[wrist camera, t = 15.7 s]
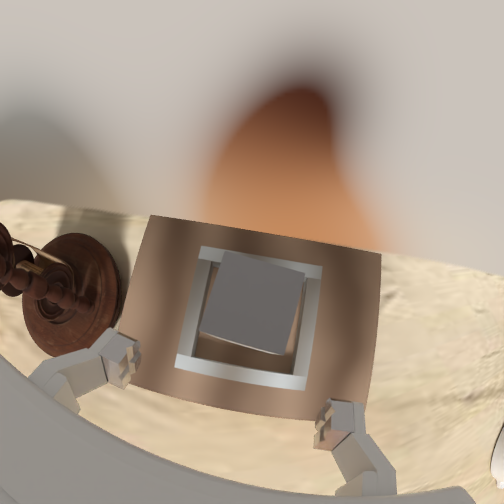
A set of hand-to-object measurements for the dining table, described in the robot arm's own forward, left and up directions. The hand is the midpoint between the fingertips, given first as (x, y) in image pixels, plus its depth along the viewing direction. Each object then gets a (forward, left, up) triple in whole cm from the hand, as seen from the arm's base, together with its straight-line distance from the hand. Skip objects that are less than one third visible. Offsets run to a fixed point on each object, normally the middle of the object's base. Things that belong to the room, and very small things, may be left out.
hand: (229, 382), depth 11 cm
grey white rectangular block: (0, -4, -9) cm, 10 cm away
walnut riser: (0, -4, -17) cm, 18 cm away
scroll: (+21, -2, -17) cm, 27 cm away
